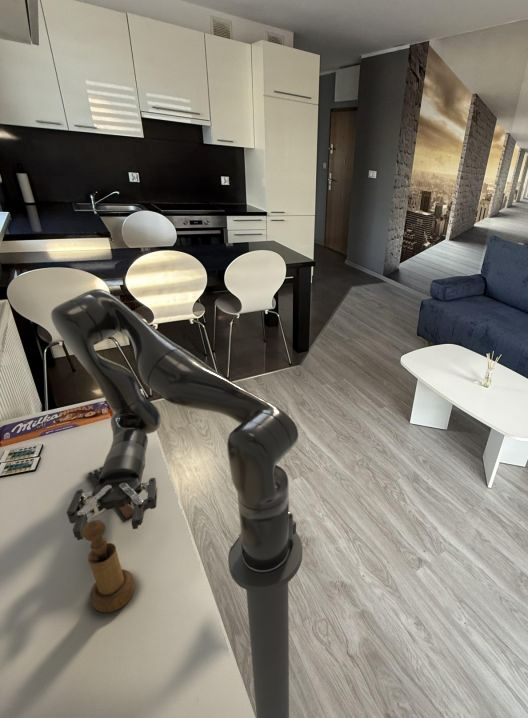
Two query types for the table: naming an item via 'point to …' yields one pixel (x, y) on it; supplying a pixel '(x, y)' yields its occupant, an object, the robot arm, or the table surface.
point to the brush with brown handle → (125, 510)
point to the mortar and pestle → (107, 571)
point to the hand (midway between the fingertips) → (107, 531)
